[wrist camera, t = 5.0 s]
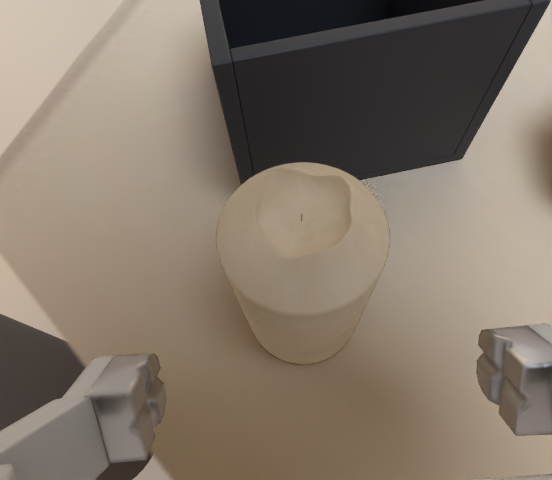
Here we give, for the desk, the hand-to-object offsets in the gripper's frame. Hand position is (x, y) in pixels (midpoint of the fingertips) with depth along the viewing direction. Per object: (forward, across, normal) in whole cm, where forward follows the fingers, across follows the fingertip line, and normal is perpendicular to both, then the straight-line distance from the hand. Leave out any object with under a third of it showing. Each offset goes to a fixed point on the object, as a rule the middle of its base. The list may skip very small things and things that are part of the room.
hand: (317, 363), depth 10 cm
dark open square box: (+20, -3, -7) cm, 21 cm away
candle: (+10, 0, +4) cm, 10 cm away
